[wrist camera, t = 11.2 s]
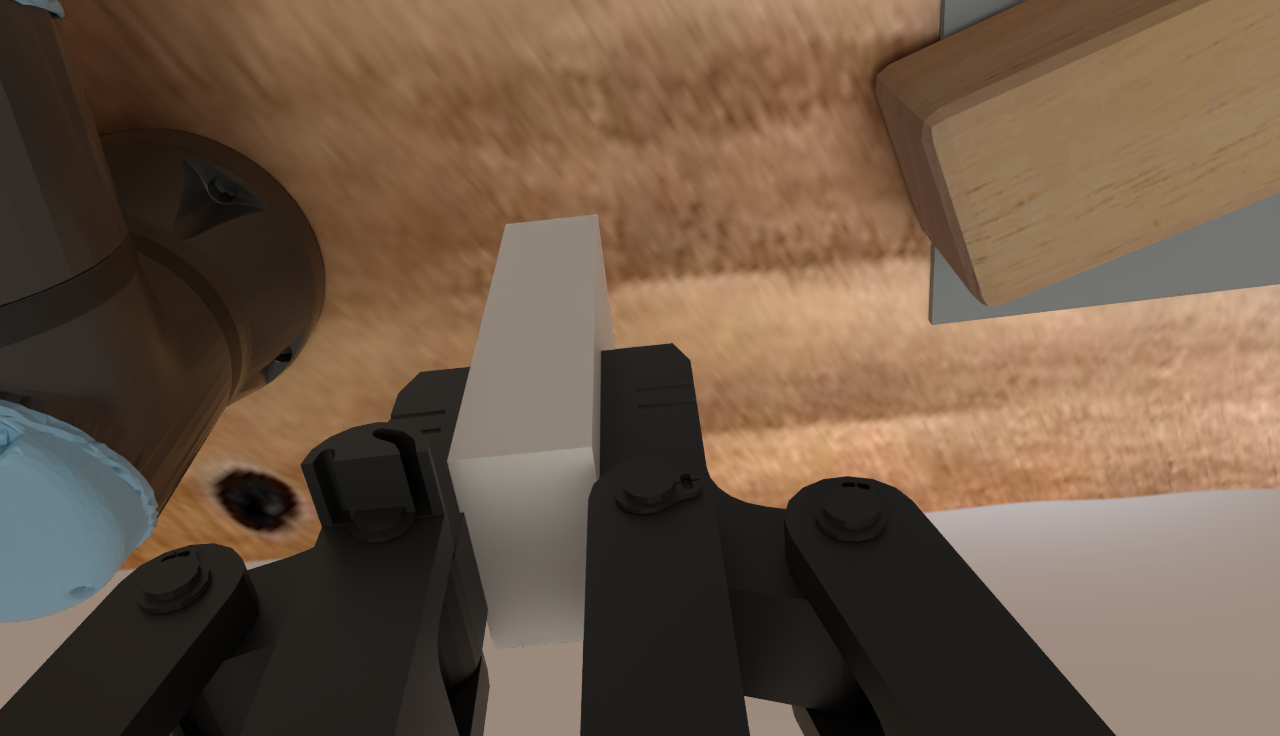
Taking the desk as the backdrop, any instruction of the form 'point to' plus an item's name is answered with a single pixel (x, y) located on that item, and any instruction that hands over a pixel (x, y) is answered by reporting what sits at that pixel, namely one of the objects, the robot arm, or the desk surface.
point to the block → (1084, 132)
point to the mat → (1179, 265)
